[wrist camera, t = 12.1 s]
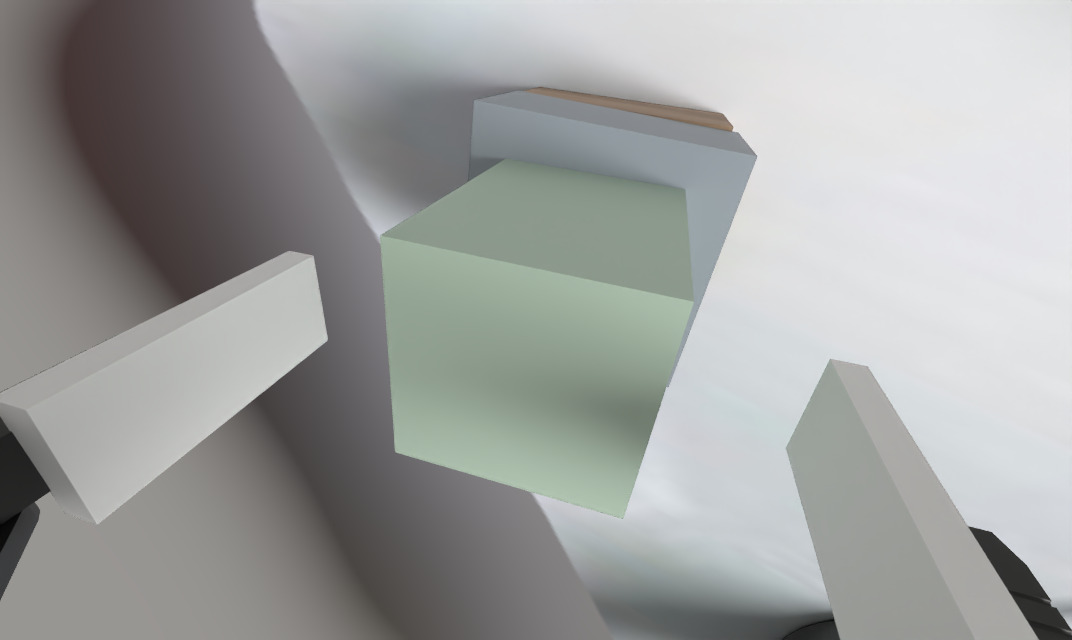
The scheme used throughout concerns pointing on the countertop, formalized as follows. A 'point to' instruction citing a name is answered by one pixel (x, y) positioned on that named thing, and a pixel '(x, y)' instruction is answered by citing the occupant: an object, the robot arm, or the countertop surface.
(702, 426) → the countertop surface
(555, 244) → the green block
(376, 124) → the countertop surface
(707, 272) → the tower top
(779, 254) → the countertop surface
